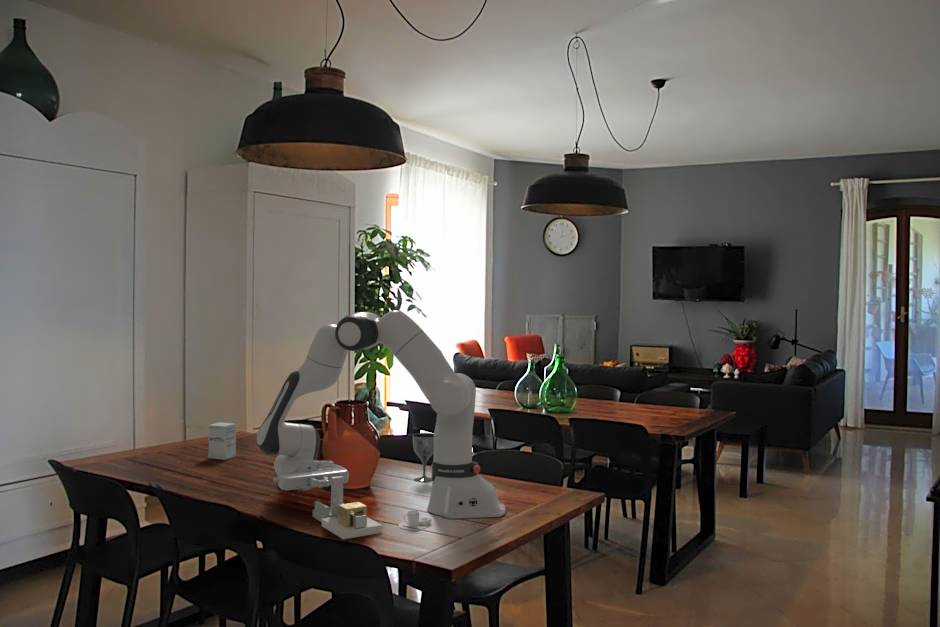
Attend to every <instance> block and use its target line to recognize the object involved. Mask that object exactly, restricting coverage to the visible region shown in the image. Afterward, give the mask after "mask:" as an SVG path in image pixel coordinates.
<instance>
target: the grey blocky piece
mask: <svg viewBox="0 0 940 627" xmlns="http://www.w3.org/2000/svg"><path fill="white" fill-rule="evenodd" d="M329 517H335V516H334V515H332V514H331V506H328V505H326V504H325V503H323V502H321V501H319V500H315V501H314V509H312V518H314V519H315V520H317V521H318V522H321V523H322V519H323V518H329Z"/></svg>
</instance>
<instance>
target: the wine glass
mask: <svg viewBox="0 0 940 627" xmlns="http://www.w3.org/2000/svg"><path fill="white" fill-rule="evenodd" d="M412 446H413V451H414V453H415V454H416V456H417V457H418V458H419V459H420V461H421V464H422V476H419V477H415V478H413V481H415V482H417V483H431V482H433V481H432V478H431V476H430V477H429V476H427V475H426V467H427V463H428V461H429V459H430V458H431V457H432V456H433V455H434V433H431V432H419V433H418V432H417V433H413V434H412Z"/></svg>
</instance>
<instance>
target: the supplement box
mask: <svg viewBox="0 0 940 627" xmlns="http://www.w3.org/2000/svg"><path fill="white" fill-rule="evenodd" d="M236 453H237V424H236V423H232V422H214V423H211V424H209V425H208V455H207V456H208V459H214V460H223V461H226V460H230V459H233V458H234V457H236V455H237V454H236Z"/></svg>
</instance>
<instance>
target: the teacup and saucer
mask: <svg viewBox="0 0 940 627" xmlns="http://www.w3.org/2000/svg"><path fill="white" fill-rule="evenodd" d="M406 516H407V520H406V518H405V517H406ZM403 520H404V521H403V522H400V523H399V524H398V525H397V526H398V527H399V528H400V529H403V530H408V531H418V530H424V529H426V528H428V527H429V525H430V524H431V522H432V519H431V518H430V517H427V516H425V517H421V518H420V511H418V510H409V511H407V513H404V515H403ZM404 525H407V526H409V527H410V528H409V527H405V526H404ZM418 525H419V526H422V527H418ZM417 527H418V528H417Z"/></svg>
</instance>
